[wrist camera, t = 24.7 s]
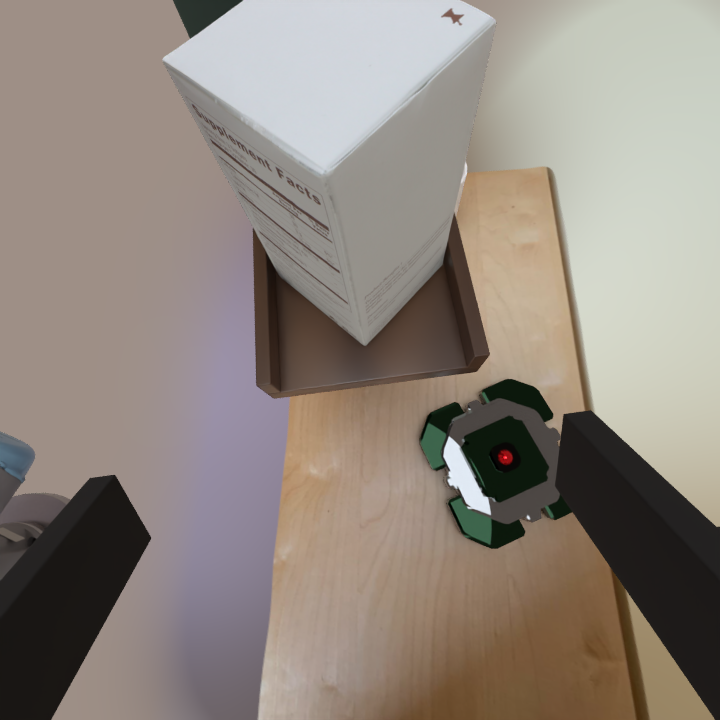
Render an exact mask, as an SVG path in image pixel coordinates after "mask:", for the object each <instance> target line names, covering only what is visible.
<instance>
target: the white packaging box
mask: <svg viewBox="0 0 720 720" xmlns="http://www.w3.org/2000/svg"><path fill="white" fill-rule="evenodd" d="M495 27H496V20H495V19H494V18H492V17H491V16H489V15H488V14H486V13H484V12H482V11H480V10H478V9H477V8H475V7H473V6H471V5H469V4H467V3H465V2H463V1H461V0H243V1H242V2H241V3H239V4H238V5H236V6H235V7H234V8H232V9H231V10H230V11H228V12H227V13H226V14H224V15H223V16H221V17H220V18H219V19H217V20H216V21H215V22H213V23H212V24H211V25H209V26H208V27H206V28H205V29H204V30H202V31H201V32H200V33H198V34H197V35H195V36H194V37H192V38H191V39H190V40H188V41H187V42H185V43H184V44H183V45H181V46H180V47H178V48H177V49H176V50H174V51H173V52H171V53H170V54H168V55H167V56H165V57H164V58H163V63H164V65H165V67H166V68H167V71H168V72H169V74H170V76H171V78H172V80H173V82H174V83H175V85H176V87H177V89H178V91H179V93H180V94H181V96H182V98H183V100H184V101H185V103H186V105H187V107H188V109H189V111H190V113H191V114H192V116H193V118H194V120H195V122H196V123H197V125H198V127H199V129H200V131H201V133H202V135H203V137H204V138H205V140H206V142H207V144H208V146H209V147H210V149H211V151H212V153H213V155H214V156H215V158H216V160H217V162H218V163H219V165H220V167H221V169H222V171H223V173H224V175H225V176H226V178H227V180H228V182H229V183H230V185H231V187H232V189H233V191H234V192H235V194H236V196H237V198H238V200H239V202H240V204H241V206H242V208H243V209H244V211H245V213H246V215H247V217H248V219H249V220H250V222H251V225H252V226H253V228H254V230H255V232H256V234H257V236H258V238H259V239H260V241H261V243H262V245H263V247H264V248H265V250H266V252H267V254H268V256H269V258H270V260H271V262H272V264H273V266H274V267H275V269H276V271H277V273H278V274H279V276H280V277H281V278H282V279H283V280H284V281H286V282H287V283H288V284H289V285H291V286H292V287H293V288H294V289H296V290H297V291H298V292H299V293H300V294H302V295H303V296H304V297H305V298H307V299H308V300H309V301H310V302H311V303H313V304H314V305H315V306H316V307H317V308H319V309H320V310H321V311H322V312H323V313H325V314H326V315H327V316H328V317H330V318H331V319H332V320H333V321H334V322H335V323H337V324H338V325H339V326H340V327H342V328H343V329H344V330H345V331H346V332H348V333H349V334H350V335H351V336H353V337H354V338H355V339H356V340H357V341H359V342H360V343H361V344H362V345H364V346H366V345H367V344H368V343H369V342H370V341H371V340H372V339H373V338H374V337H375V336H376V335H377V334H378V333H379V332H380V331H381V330H382V329H383V328H384V327H385V325H386V324H387V323H388V322H389V321H390V320H391V319H392V318H393V317H394V316H395V315H396V314H397V313H398V312H399V311H400V310H401V308H402V307H403V306H404V305H405V304H406V303H407V302H408V301H409V300H410V299H411V298H412V297H413V296H414V295H415V294H416V292H417V291H418V290H419V289H420V288H421V287H422V286H423V285H424V284H425V283H426V282H427V281H428V280H429V279H430V278H431V276H432V275H433V274H434V273H435V272H436V271H437V270H438V269H439V268H440V267H441V266H442V265H443V259H444V255H445V250H446V246H447V242H448V237H449V232H450V228H451V223H452V219H453V215H454V210H455V205H456V201H457V197H458V192H459V188H460V184H461V179H462V174H463V170H464V165H465V161H466V156H467V152H468V148H469V143H470V139H471V134H472V130H473V125H474V121H475V116H476V112H477V107H478V103H479V99H480V94H481V90H482V85H483V81H484V77H485V72H486V68H487V63H488V59H489V54H490V50H491V46H492V41H493V36H494V31H495Z"/></svg>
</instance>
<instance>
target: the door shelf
mask: <svg viewBox="0 0 720 720" xmlns="http://www.w3.org/2000/svg"><path fill="white" fill-rule="evenodd" d="M253 256H254V301H255V302H254V303H255V346H256V385H257V387H259V388H260V389H262V390H263V391H264V392H266V393H267V394H268V395H270V396H271V397H272V398H282V397H290V396H298V395H306V394H313V393H321V392H328V391H336V390H343V389H351V388H358V387H366V386H373V385H381V384H388V383H396V382H403V381H411V380H419V379H426V378H434V377H441V376H449V375H456V374H464V373H471V372H477V370H478V369H479V368H480V367H481V365H482V364H483V363H484V362H485V360H486V359H487V358H488V356H489V355H490V353H489V349H488V345H487V341H486V337H485V333H484V329H483V325H482V321H481V317H480V313H479V309H478V305H477V301H476V297H475V293H474V289H473V285H472V280H471V276H470V272H469V268H468V264H467V260H466V256H465V252H464V248H463V244H462V240H461V236H460V232H459V228H458V224H457V220H456V216H455V212H454V215H453V219H452V223H451V228H450V232H449V237H448V242H447V246H446V250H445V255H444V259H443V265H442V266H441V267H440V268H439V269H438V270H437V271H436V272H435V273H434V274H433V275H432V276H431V278H430V279H429V280H428V281H427V282H426V283H425V284H424V285H423V286H422V287H421V288H420V289H419V290H418V291H417V292H416V294H415V295H414V296H413V297H412V298H411V299H410V300H409V301H408V302H407V303H406V304H405V305H404V306H403V307H402V308H401V310H400V311H399V312H398V313H397V314H396V315H395V316H394V317H393V318H392V319H391V320H390V321H389V322H388V323H387V324H386V325H385V327H384V328H383V329H382V330H381V331H380V332H379V333H378V334H377V335H376V336H375V337H374V338H373V339H372V340H371V341H370V342H369V343H368V344H367V345H366V346H364V345H362V344H361V343H360V342H359V341H357V340H356V339H355V338H354V337H353V336H351V335H350V334H349V333H348V332H346V331H345V330H344V329H343V328H342V327H340V326H339V325H338V324H337V323H335V322H334V321H333V320H332V319H331V318H330V317H328V316H327V315H326V314H325V313H323V312H322V311H321V310H320V309H319V308H317V307H316V306H315V305H314V304H313V303H311V302H310V301H309V300H308V299H307V298H305V297H304V296H303V295H302V294H300V293H299V292H298V291H297V290H296V289H294V288H293V287H292V286H291V285H289V284H288V283H287V282H286V281H284V280H283V279H282V278H281V277H280V276H279V274H278V273H277V271H276V269H275V267H274V266H273V264H272V262H271V260H270V258H269V256H268V254H267V252H266V250H265V248H264V247H263V245H262V243H261V241H260V239H259V238H258V236H257V234H256V232H255V230H254V228H253Z"/></svg>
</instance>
